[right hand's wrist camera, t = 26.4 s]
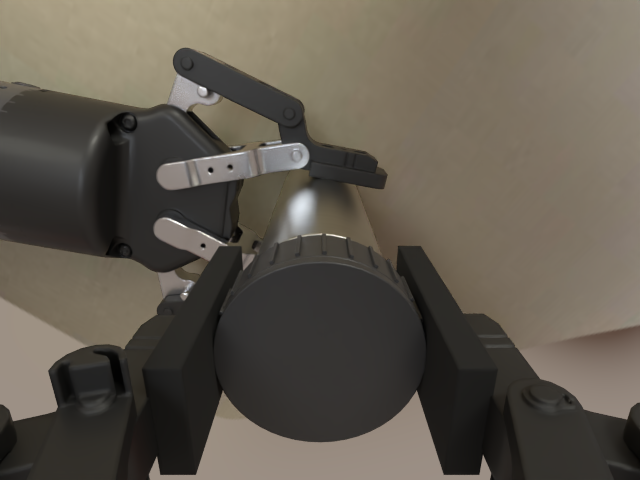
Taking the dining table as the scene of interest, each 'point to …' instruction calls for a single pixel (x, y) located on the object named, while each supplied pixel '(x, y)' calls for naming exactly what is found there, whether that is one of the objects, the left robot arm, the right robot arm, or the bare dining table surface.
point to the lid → (319, 340)
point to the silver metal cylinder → (318, 211)
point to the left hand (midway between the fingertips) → (369, 227)
